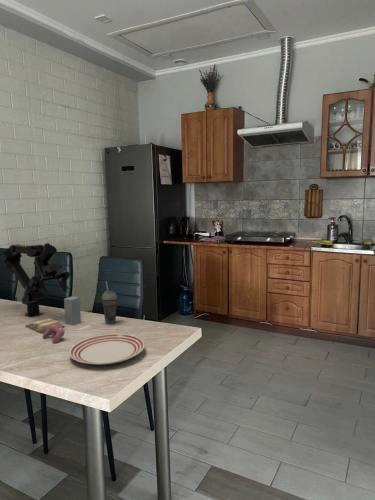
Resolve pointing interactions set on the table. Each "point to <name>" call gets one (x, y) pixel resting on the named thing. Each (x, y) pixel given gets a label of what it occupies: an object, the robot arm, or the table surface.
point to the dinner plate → (107, 349)
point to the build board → (43, 325)
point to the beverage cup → (109, 305)
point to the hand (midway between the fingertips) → (56, 293)
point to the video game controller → (54, 333)
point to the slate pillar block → (72, 310)
